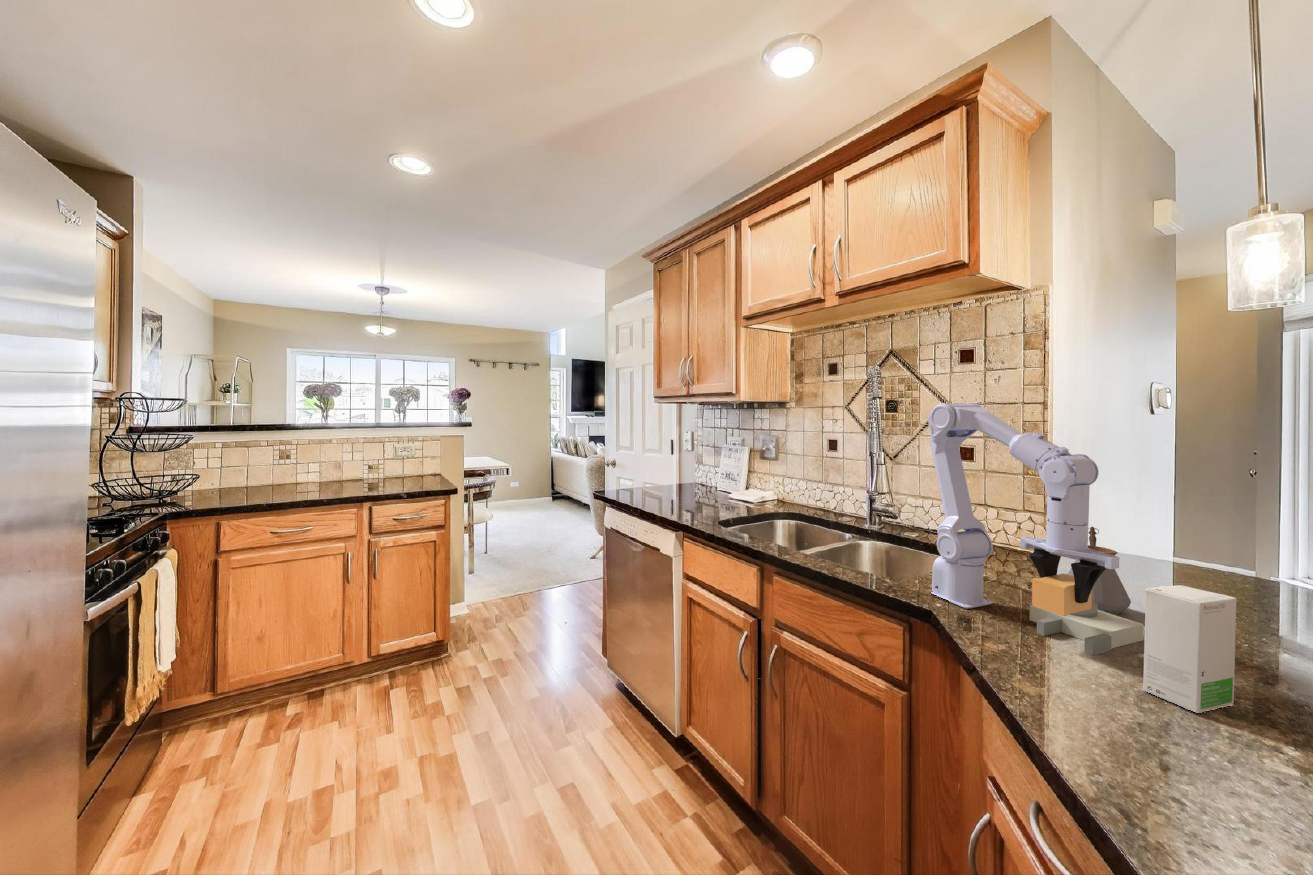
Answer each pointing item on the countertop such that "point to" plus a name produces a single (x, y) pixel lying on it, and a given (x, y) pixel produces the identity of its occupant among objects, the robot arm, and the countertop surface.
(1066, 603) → the orange lidded tapered block
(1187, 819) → the countertop surface
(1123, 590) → the grey faceted tapered shape
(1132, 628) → the grey stand
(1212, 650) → the skincare box
